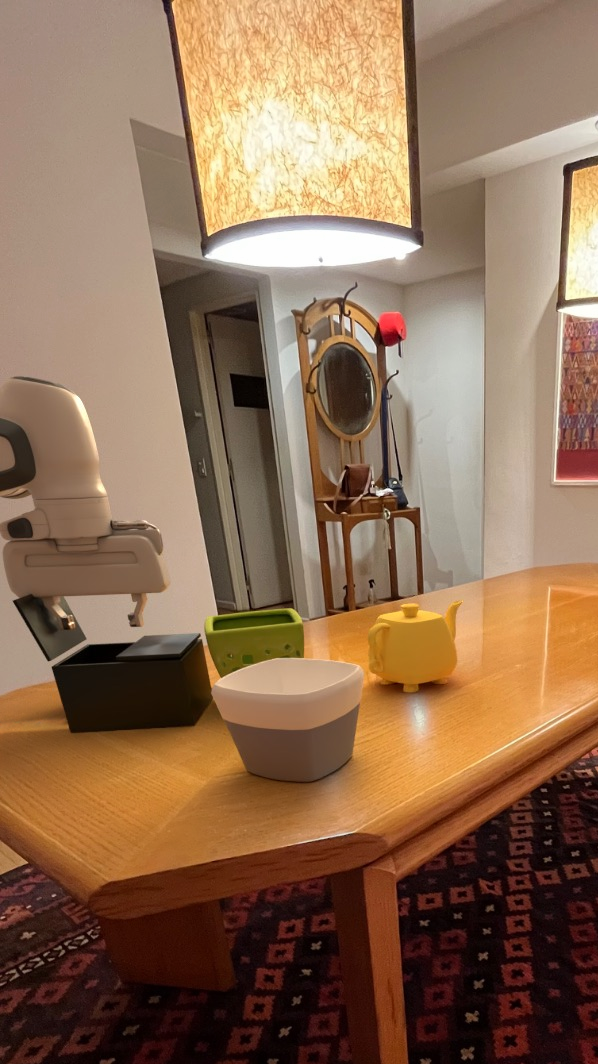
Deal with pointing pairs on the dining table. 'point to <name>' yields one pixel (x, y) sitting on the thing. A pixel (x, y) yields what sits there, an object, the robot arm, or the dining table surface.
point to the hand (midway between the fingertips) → (102, 627)
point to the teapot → (413, 646)
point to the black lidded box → (135, 684)
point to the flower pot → (253, 638)
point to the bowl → (292, 715)
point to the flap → (48, 626)
